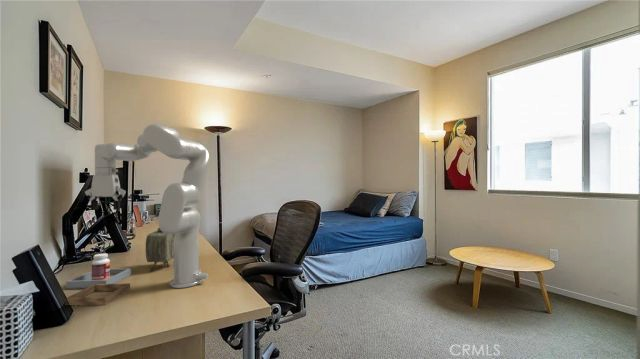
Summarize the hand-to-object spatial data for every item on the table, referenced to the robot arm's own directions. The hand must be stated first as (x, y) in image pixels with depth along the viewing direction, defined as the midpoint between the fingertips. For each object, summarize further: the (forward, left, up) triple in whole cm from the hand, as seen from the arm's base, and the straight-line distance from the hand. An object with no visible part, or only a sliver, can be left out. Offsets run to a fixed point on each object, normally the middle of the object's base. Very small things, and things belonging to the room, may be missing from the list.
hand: (105, 209), depth 126 cm
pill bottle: (-2, +6, -30) cm, 31 cm away
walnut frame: (-14, +23, -30) cm, 41 cm away
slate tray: (-2, +6, -30) cm, 31 cm away
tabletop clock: (-19, -13, -31) cm, 38 cm away
